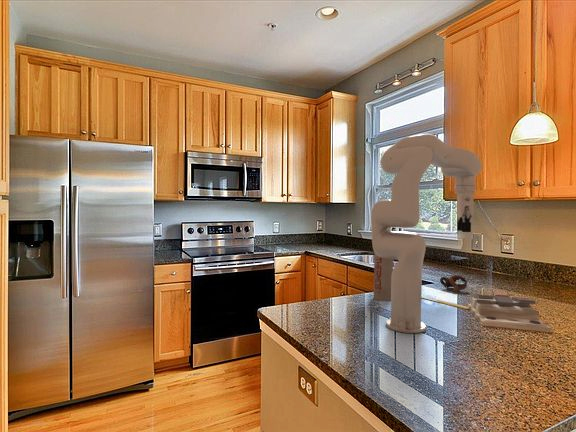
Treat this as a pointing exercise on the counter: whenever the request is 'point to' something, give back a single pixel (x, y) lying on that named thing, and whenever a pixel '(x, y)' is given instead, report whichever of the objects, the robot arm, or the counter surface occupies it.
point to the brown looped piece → (451, 282)
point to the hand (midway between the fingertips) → (463, 231)
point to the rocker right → (523, 300)
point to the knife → (448, 303)
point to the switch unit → (507, 315)
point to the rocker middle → (503, 299)
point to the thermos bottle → (382, 278)
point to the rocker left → (483, 297)
